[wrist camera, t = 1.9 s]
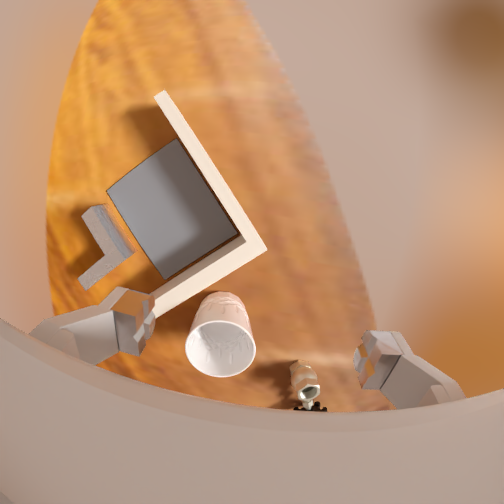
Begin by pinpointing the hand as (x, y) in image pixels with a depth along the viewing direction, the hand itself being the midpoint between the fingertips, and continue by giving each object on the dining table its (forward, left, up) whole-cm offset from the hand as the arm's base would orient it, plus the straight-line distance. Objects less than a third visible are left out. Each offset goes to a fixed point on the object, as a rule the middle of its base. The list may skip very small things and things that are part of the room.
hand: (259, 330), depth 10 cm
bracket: (-17, +9, -27) cm, 33 cm away
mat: (-7, +7, -27) cm, 28 cm away
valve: (-5, -29, -27) cm, 40 cm away
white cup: (-9, -9, -27) cm, 30 cm away
